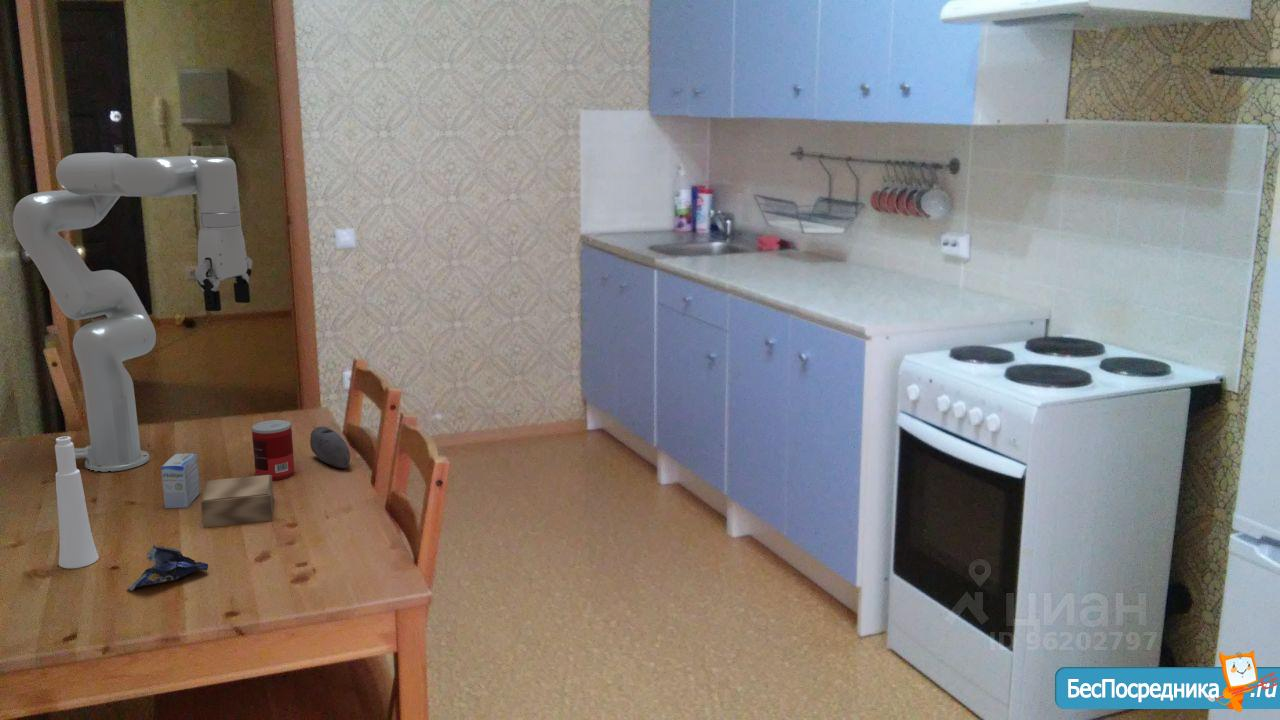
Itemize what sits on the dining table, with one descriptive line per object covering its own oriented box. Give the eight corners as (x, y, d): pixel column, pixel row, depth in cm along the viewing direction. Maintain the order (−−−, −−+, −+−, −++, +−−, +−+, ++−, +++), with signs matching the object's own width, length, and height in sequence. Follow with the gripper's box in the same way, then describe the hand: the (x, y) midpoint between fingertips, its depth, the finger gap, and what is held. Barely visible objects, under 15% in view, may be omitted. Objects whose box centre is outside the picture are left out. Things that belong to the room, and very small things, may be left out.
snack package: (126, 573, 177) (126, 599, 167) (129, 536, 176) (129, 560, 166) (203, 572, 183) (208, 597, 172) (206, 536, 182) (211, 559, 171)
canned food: (300, 469, 227) (296, 420, 225) (284, 481, 220) (280, 431, 217) (266, 468, 228) (262, 419, 226) (249, 480, 220) (245, 430, 218)
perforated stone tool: (358, 470, 227) (356, 439, 226) (335, 475, 224) (332, 443, 222) (332, 453, 239) (330, 423, 237) (309, 457, 236) (307, 427, 234)
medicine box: (178, 494, 212) (174, 453, 210) (201, 493, 213) (197, 452, 211) (164, 508, 205) (160, 466, 203) (188, 508, 205) (184, 465, 203)
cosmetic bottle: (71, 571, 177) (55, 445, 172) (51, 563, 180) (34, 439, 175) (106, 559, 182) (91, 436, 177) (85, 551, 185) (70, 430, 180)
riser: (203, 527, 195) (201, 501, 194) (208, 505, 207) (206, 479, 205) (272, 520, 199) (270, 494, 198) (273, 498, 210) (271, 473, 209)
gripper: (230, 216, 218) (237, 298, 222) (175, 225, 202) (184, 313, 206) (262, 217, 216) (269, 300, 220) (210, 225, 200) (218, 315, 204)
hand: (228, 306), depth 213 cm, fingers open, 9 cm apart
